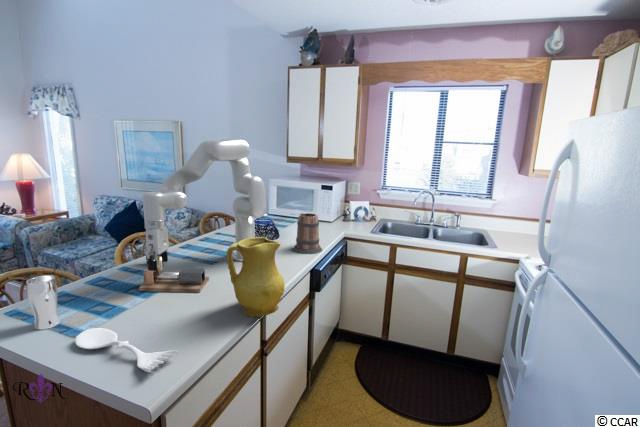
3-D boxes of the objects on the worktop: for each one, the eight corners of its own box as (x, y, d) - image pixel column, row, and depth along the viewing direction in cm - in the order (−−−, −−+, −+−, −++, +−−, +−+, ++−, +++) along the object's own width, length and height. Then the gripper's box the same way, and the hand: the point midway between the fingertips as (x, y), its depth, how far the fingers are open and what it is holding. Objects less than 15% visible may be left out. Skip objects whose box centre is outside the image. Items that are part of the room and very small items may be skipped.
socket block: (158, 279, 133) (158, 267, 132) (153, 284, 129) (152, 272, 128) (150, 279, 133) (149, 267, 132) (144, 284, 128) (143, 272, 127)
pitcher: (262, 325, 104) (260, 249, 100) (222, 311, 114) (219, 241, 110) (294, 305, 118) (294, 238, 115) (256, 294, 128) (254, 232, 125)
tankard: (316, 256, 173) (317, 219, 169) (287, 251, 178) (288, 216, 174) (329, 244, 195) (330, 211, 191) (303, 240, 200) (304, 208, 196)
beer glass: (43, 318, 104) (37, 274, 101) (66, 318, 105) (61, 274, 102) (26, 331, 97) (18, 284, 94) (51, 330, 98) (44, 284, 95)
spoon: (150, 382, 79) (149, 369, 78) (67, 347, 91) (66, 335, 90) (179, 360, 87) (178, 348, 86) (100, 331, 99) (99, 320, 99)
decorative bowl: (285, 236, 209) (286, 214, 206) (264, 243, 193) (264, 219, 190) (262, 231, 220) (262, 210, 217) (240, 237, 203) (240, 214, 200)
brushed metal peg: (188, 278, 133) (187, 256, 131) (185, 281, 130) (184, 258, 128) (151, 277, 132) (149, 255, 130) (147, 280, 129) (146, 257, 127)
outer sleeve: (205, 279, 134) (204, 268, 133) (201, 284, 129) (200, 273, 128) (184, 279, 134) (183, 268, 133) (179, 284, 129) (178, 272, 128)
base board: (209, 279, 138) (208, 276, 138) (200, 292, 126) (199, 288, 126) (153, 279, 137) (153, 275, 137) (139, 291, 125) (138, 287, 125)
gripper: (155, 229, 118) (158, 274, 121) (174, 219, 135) (176, 258, 138) (134, 229, 118) (137, 274, 121) (155, 218, 135) (158, 258, 138)
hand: (158, 265), depth 130 cm, fingers open, 9 cm apart
